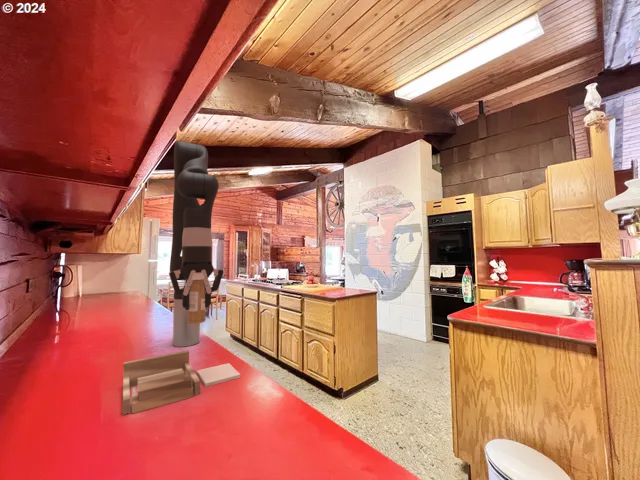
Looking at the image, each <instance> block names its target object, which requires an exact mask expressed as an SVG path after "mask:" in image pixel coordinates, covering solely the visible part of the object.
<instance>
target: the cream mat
mask: <svg viewBox="0 0 640 480" xmlns="http://www.w3.org/2000/svg"><path fill="white" fill-rule="evenodd" d="M196 375H197V377H198V378H199V380H200V382H202V383H203V384H202V385H204V387H205V388H207V387H209V386H213V385H217V384H221V383H225V382H230V381H232V380H235V379H240V378H241V373H240V372H239V371H238V370H236V368H235V367H233V365H232V364H231V363H229V362H228V363H224V364H220V365H215V366H210V367H207V368H202V369H198V370H196Z"/></svg>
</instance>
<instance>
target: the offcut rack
mask: <svg viewBox="0 0 640 480" xmlns="http://www.w3.org/2000/svg"><path fill="white" fill-rule="evenodd" d="M122 377H123V380H122V416H124V414H126V415H128V414H127V413H129V414H130V410H131V414H132V413H133V414H136V413H140V412H143V411H147V410H151V409H154V408H157V407H162V406H165V405H168V404H172V403H174V402H175V403H176V402H178V401H183V400H186V399H190V398H194V396H197V395H201V379H200V377H199V376H198V374H197V372H196V371H195V370H194V369H193V367H192V365H191V364H190V351H189V350H187V349H186V350H183V351H177V352H172V353H167V354H162V355H157V356H156V355H155V356H151V357H147V358H146V357H145V358H140V359H134V360H129V361H124V362H123V374H122ZM132 387H137V394H136V395H131V397H130V393H131V391H130V388H132ZM130 405H131V406H130ZM130 407H131V408H130Z"/></svg>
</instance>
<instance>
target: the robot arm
mask: <svg viewBox="0 0 640 480" xmlns="http://www.w3.org/2000/svg"><path fill="white" fill-rule="evenodd" d="M208 153H209V151H208V149H207V148H206V146H204V145H202V144H197V143H191V142H186V141H182V140H181V141H179V140H178V141H176V142H175V145H174V149H173V171H174V173H173V174H174V175H173V176H174V177H173V179H174V182H173V183H174V187H173V188H174V189H173V203H172V240H171V241H172V242H171V251H170V252H171V253H170V260H169V261H170V262H169V272H168V276H169V279H170V282H171V285H172V288H173V290H174V292H173V315H172V316H173V320H172V322H173V327H172V345H173V346H174V347H177V348H178V347H180V348H182V347H190V346H193V345H196V344H198V343H200V339H201V338H200V335H201V334H200V333H201V323H198V324H189V323H188V322H187V321H188V310H189V296H188V292H189V289H190V287H191V285H192V281H193V280H192V276H193V275H194V273H200V272H201V273H203V276H204V279H203V280H204V285H205V309H207V308H209V306H210V305H212V293H213V292H216V291H218V290H219V289H220V284H221V281H222V277H223V275H224V270H223V269H217V268H214V266H213V234H212V216H213V215H212V213H213V208H214V205H215V200H216V197H217V194H218V192H219V181H218V179H217V178H216V176H215V175H212V174H209V172H208V167H209V154H208ZM198 200H203V201H204V202H203V203H202V204H200V202H199V201H198ZM212 273H213V276H214V280H213V283H212V286H211V285H210V281H209V277H210V276H211V275H212ZM178 281H184V283H183V287H182V288H180V285H179V282H178ZM189 282H190V283H189Z"/></svg>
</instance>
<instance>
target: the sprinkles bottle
mask: <svg viewBox="0 0 640 480" xmlns="http://www.w3.org/2000/svg"><path fill="white" fill-rule="evenodd" d="M203 279H204V276H203V273H201V272H200V273H194V275H193V276H192V280H193V281H192V285H191V287H190V289H189V292H188V296H189V310H188V321H187V322H188V323H189V324H198V323H200V324H203V323H205V322H206V319H207V318H206V308H205V285H204V280H203ZM189 283H190V282H189Z"/></svg>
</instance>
